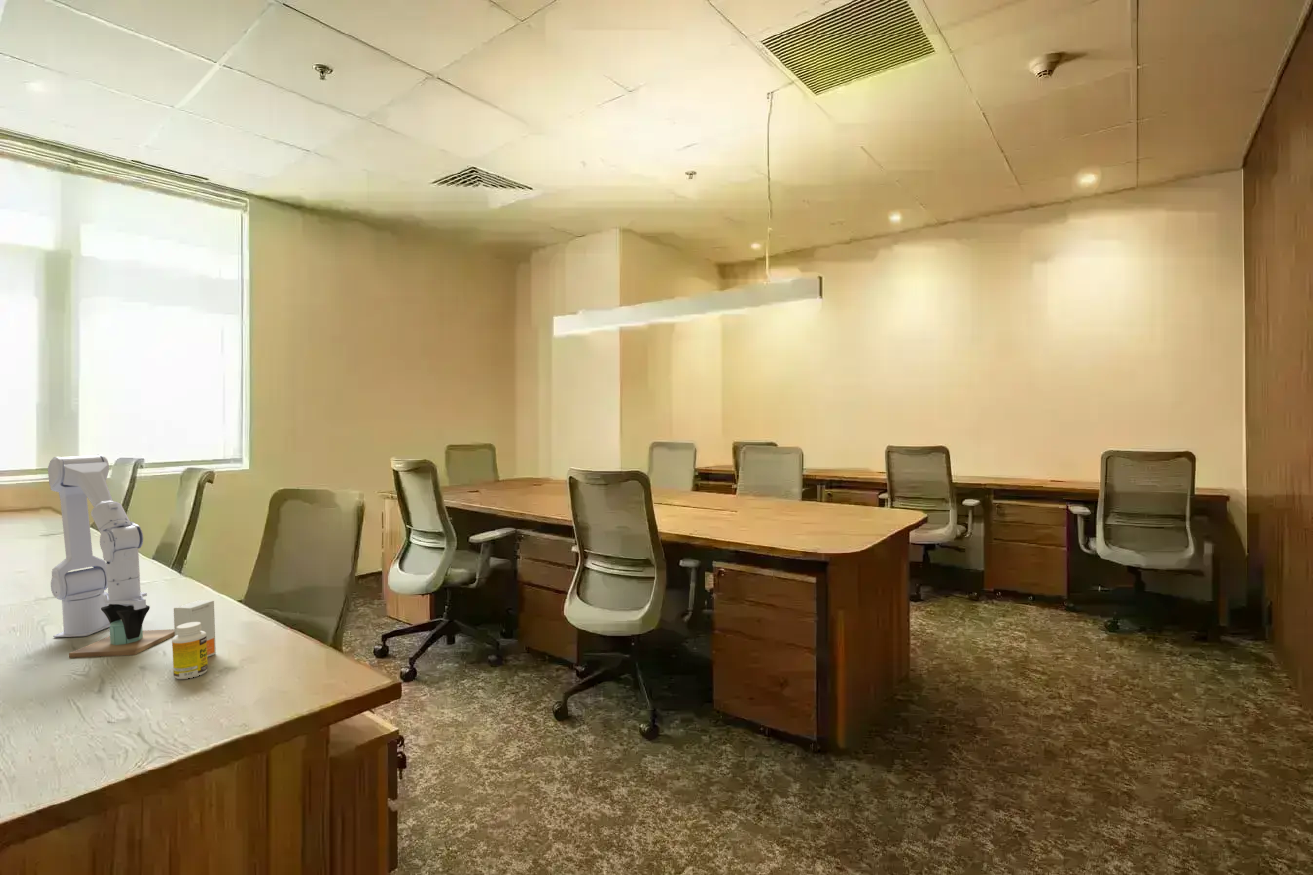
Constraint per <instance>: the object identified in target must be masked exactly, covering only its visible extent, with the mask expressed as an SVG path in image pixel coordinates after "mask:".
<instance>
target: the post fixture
mask: <svg viewBox="0 0 1313 875" xmlns="http://www.w3.org/2000/svg"><path fill="white" fill-rule="evenodd" d="M174 637H175V630H174V628H173V629H146V630H145V629H143V638H142V639H140V640H138V641H135V642H132V643H128V644H121V645H113V644H110V635H108V636H106V637H103V638H101V639H99V640H97V641H95V642H92V643H90V644H88V645H85V646H83V647H81V648H77V649H76V650H73V651H71V652H68V658H69V659H72V658H73V659H74V658H92V657H115V656H119V657H120V656H136V655H139V653H141V652H143V651H146V650H147V649H149V648H152V647H153V646H156V645H158V644H160V642H161V643H162V641H163V642H164V640H165V641H166V639H167V640H169V639H171V638H174Z"/></svg>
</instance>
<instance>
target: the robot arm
mask: <svg viewBox="0 0 1313 875" xmlns="http://www.w3.org/2000/svg"><path fill="white" fill-rule="evenodd" d="M109 471H110V464H109V461H108V458H107V457H106V456H105V455H104V454H94V455H78V456H76V455H75V456H62V457H61V456H54V457H52V458H51V460H49V463H48V466H47V473H48V474H47V475H48V483H49V487H50V488H49V489H50V491H52V492H56V493H58V495H59V499H60V500H59V501H60V510H61V519H62V529H63V539H64V549H65V559H63V560H62V561H60V563H58V564H57V565H56V566H54V567H53V568H52V571H51V580H50V590H51V593H52V596H53V597H54V598H56V599H57V600H60V601H61V607H62V609H61V610H62V621H63V622H62V624H63V625H62V626H63V631H62V632H61V631H60V632H59V633H57V634H54V635H53V638H70V637H71V638H72V637H74V638H76V637H88V636H90V635H93V634H95V633H98V632H100V631H102V630H105V629H108V628H110V623H112V622H114V621H117V620H120V619H121V620H122V622H123V625H124V629H125V634H126V637H127V639H133V638H137V637H139V636H140V632H141V628H142V629H143V623H144V620H145V617H146V616H147V614H148V612H149V611H150V608H151V605H147V600H146V598H144V597H147V596H148V594H147V592H143V591H142V590H141V577H140V576H141V575H140V574H141V573H140V557H139V556H140V555H139V554H140V553H139V549H141V548H142V546H143V544H144V533H143V530H142V527H141V526H140V524H138V523H135V521H130V519H129V517H128V515H127V512H126V511H125V509H124V507H123V505H122V504H121V503H120V502H118V501H113V498H112V494H111V491H110V489H109V486H108V483H107V479H108V475H109ZM88 500H89V502H90V504H91V505H92V506H93V508H92V509H91V512H90V514H89V505H88ZM90 515H91V518H92V520H93V522H94V523H95V525H96V527H97V528H96V529H97V530H98V531H99V533H100V535H99V546H100V549H101V551H102V558H103V559H102V558H100V557H97V556H94V555H93V547H92V546H93V544H92V536H91V527H90ZM90 567H91V568H90ZM106 590H107V592H106ZM141 591H142V592H141Z"/></svg>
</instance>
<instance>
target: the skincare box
mask: <svg viewBox="0 0 1313 875" xmlns="http://www.w3.org/2000/svg"><path fill="white" fill-rule="evenodd" d="M215 619H216V618H215V600H207V599H205V600H204V599H199V600H195V601H191V602H187V603H185V604H183V605H179V606H176V607H174V608H173V623H174V624H173V625H174V628H173V629H174V630H175V636H176V635H177V633H176V632H177V626H179V625H181V624H185V623H190V622H200V623H201V627H202V628H201V631H204V632H206V638H207V658H209V657H211V656H215V655H216V653H217V652H216V650H217V648H216V625H215V623H216V622H215ZM175 636H174V637H175ZM214 654H215V655H214Z"/></svg>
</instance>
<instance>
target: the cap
mask: <svg viewBox="0 0 1313 875" xmlns="http://www.w3.org/2000/svg"><path fill="white" fill-rule="evenodd" d="M143 631H144V629H143V627H142V628H141V632H140V636H139V637H137V638H133V639H127V637H126V634H125V629H124V625H123V622H122V620H121V619H120V620H117V621H114V622H112V623H110V627H109V636H110V644H113V645H121V644H128V643H132V642H135V641H138V640H140V639H142V638H143Z"/></svg>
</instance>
